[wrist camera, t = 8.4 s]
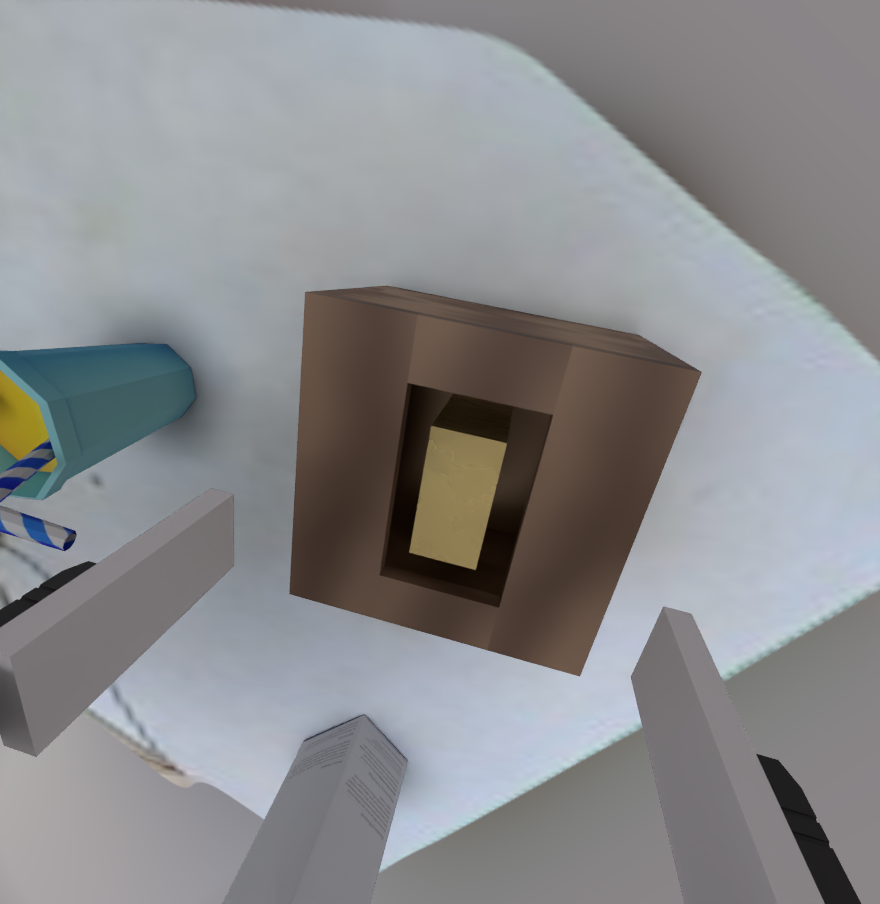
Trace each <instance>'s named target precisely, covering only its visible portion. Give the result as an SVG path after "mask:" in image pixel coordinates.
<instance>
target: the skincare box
mask: <svg viewBox="0 0 880 904" xmlns="http://www.w3.org/2000/svg"><path fill="white" fill-rule="evenodd" d="M406 767H407V760H406V759H405V758H404V757H403V756H402V755H401V754H400V753H399V751H398V750H397V749H396V748H395V747H394V746H393V745H392V744H391V743H390V742H389V741H388V740H387V738H386V737H385V736H384V735H383V734H382V733H381V732H380V731H379V730H378V729H377V727H376V726H375V725H374V724H373V723H372V722H371V721H370V720H369V719H368V718H367V716H366V715H362V716H360V717H358V718H356V719H354V720H351V721H349V722H347V723H345V724H342V725H340V726H338V727H336V728H333V729H331V730H329V731H327V732H324V733H322V734H320V735H318V736H315V737H313V738H311V739H309V740H307V741H304V742H303V743H302V745H301V747H300V749H299V751H298V754H297V756H296V758H295V760H294V762H293V764H292V766H291V768H290V770H289V772H288V774H287V776H286V778H285V780H284V782H283V784H282V786H281V788H280V790H279V792H278V794H277V796H276V798H275V800H274V802H273V804H272V806H271V808H270V810H269V812H268V814H267V816H266V818H265V820H264V822H263V824H262V826H261V828H260V830H259V831H258V833H257V836H256V837H255V840H254V842H253V844H252V845H251V848H250V849H249V851H248V853H247V855H246V857H245V859H244V861H243V863H242V865H241V867H240V869H239V871H238V873H237V875H236V877H235V879H234V881H233V883H232V885H231V887H230V889H229V891H228V893H227V895H226V897H225V899H224V901H223V903H222V904H370V902H371V899H372V895H373V891H374V887H375V884H376V880H377V876H378V872H379V869H380V865H381V861H382V857H383V853H384V850H385V846H386V842H387V838H388V835H389V831H390V827H391V823H392V820H393V816H394V812H395V808H396V804H397V801H398V797H399V793H400V789H401V786H402V782H403V778H404V774H405V771H406Z"/></svg>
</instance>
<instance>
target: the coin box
mask: <svg viewBox="0 0 880 904" xmlns="http://www.w3.org/2000/svg"><path fill="white" fill-rule="evenodd" d="M701 373H702V372H701V371H699V370H697V369H696V368H694V367H692V366H690V365H689V364H687V363H685V362H684V361H682V360H680V359H679V358H677V357H675V356H673V355H672V354H670V353H668V352H667V351H665V350H663V349H662V348H660V347H658V346H657V345H655V344H653V343H651V342H650V341H648V340H646V339H645V338H643V337H641V336H640V335H635V334H630V333H625V332H620V331H615V330H610V329H605V328H600V327H595V326H589V325H584V324H579V323H574V322H569V321H564V320H559V319H554V318H549V317H544V316H539V315H533V314H528V313H523V312H518V311H513V310H508V309H503V308H498V307H493V306H488V305H482V304H477V303H472V302H467V301H462V300H457V299H452V298H447V297H442V296H437V295H432V294H426V293H421V292H416V291H411V290H406V289H401V288H396V287H391V286H377V287H364V288H351V289H338V290H325V291H312V292H305V308H304V327H303V347H302V366H301V385H300V404H299V423H298V442H297V461H296V480H295V499H294V519H293V538H292V557H291V576H290V594H291V595H295V596H298V597H302V598H305V599H309V600H312V601H316V602H320V603H323V604H327V605H330V606H334V607H337V608H341V609H344V610H348V611H351V612H355V613H358V614H362V615H365V616H369V617H372V618H376V619H379V620H383V621H386V622H390V623H394V624H397V625H401V626H404V627H408V628H411V629H415V630H418V631H422V632H425V633H429V634H432V635H436V636H439V637H443V638H446V639H450V640H453V641H457V642H460V643H464V644H468V645H471V646H475V647H478V648H482V649H485V650H489V651H492V652H496V653H499V654H503V655H506V656H510V657H513V658H517V659H520V660H524V661H527V662H531V663H534V664H538V665H542V666H545V667H549V668H552V669H556V670H559V671H563V672H566V673H570V674H573V675H577V676H580V675H581V672H582V670H583V667H584V665H585V662H586V660H587V657H588V655H589V652H590V650H591V647H592V645H593V642H594V640H595V637H596V635H597V632H598V630H599V627H600V625H601V622H602V620H603V617H604V615H605V612H606V610H607V607H608V605H609V602H610V600H611V597H612V595H613V592H614V590H615V587H616V585H617V582H618V580H619V577H620V575H621V572H622V570H623V567H624V565H625V563H626V560H627V558H628V555H629V553H630V550H631V548H632V545H633V543H634V540H635V538H636V535H637V533H638V530H639V528H640V525H641V523H642V520H643V518H644V515H645V513H646V510H647V508H648V505H649V503H650V500H651V498H652V495H653V493H654V490H655V488H656V485H657V483H658V480H659V478H660V475H661V473H662V470H663V468H664V465H665V463H666V460H667V458H668V455H669V453H670V450H671V448H672V445H673V443H674V440H675V438H676V435H677V433H678V430H679V428H680V425H681V423H682V420H683V418H684V415H685V413H686V410H687V408H688V405H689V403H690V400H691V398H692V395H693V393H694V390H695V388H696V385H697V383H698V380H699V378H700V375H701ZM453 393H456V394H460V395H465V396H469V397H474V398H478V399H483V400H487V401H492V402H497V403H501V404H506V405H510V406H513V411H512V417H511V423H510V429H509V435H508V441H507V446H506V450H505V454H504V458H503V462H502V466H501V470H500V474H499V478H498V482H497V486H496V490H495V494H494V498H493V502H492V506H491V510H490V514H489V518H488V522H487V527H486V531H485V535H484V539H483V543H482V547H481V551H480V555H479V559H478V563H477V567H476V570H474V569H470V568H466V567H462V566H459V565H455V564H451V563H447V562H443V561H440V560H436V559H432V558H428V557H424V556H421V555H417V554H413V553H409V551H410V545H411V539H412V534H413V528H414V522H415V516H416V511H417V505H418V499H419V493H420V488H421V482H422V476H423V470H424V465H425V459H426V453H427V447H428V442H429V436H430V430H431V425H432V424H433V423H434V421H435V420H436V418H437V417H438V415H439V414H440V412H441V411H442V409H443V408H444V407H445V405H446V404H447V402H448V401H449V399H450V398H451V396H452V395H453Z"/></svg>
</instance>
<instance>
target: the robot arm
mask: <svg viewBox="0 0 880 904" xmlns="http://www.w3.org/2000/svg"><path fill="white" fill-rule="evenodd" d="M233 566H234V499H233V494H231V493H227V492H223V491H219V490H215V489H210V490H208V491H206V492H205V493H203V494H202V495H200V496H199V497H197V498H196V499H194V500H193V501H191V502H190V503H188V504H187V505H185V506H184V507H182V508H181V509H179V510H178V511H176V512H175V513H173V514H172V515H170V516H169V517H167V518H166V519H164V520H163V521H161V522H159V523H158V524H156V525H155V526H153V527H152V528H150V529H149V530H147V531H146V532H144V533H143V534H141V535H140V536H138V537H137V538H135V539H134V540H132V541H131V542H129V543H128V544H126V545H125V546H123V547H122V548H120V549H119V550H117V551H116V552H114V553H112V554H111V555H109V556H108V557H106V558H105V559H103V560H102V561H100V562H99V563H97V564H96V563H93V562H89V561H88V562H85V563H82V564H80V565H77V566H74V567H72V568H69V569H66V570H64V571H62V572H60V573H58V574H57V575H55V576H54V577H52V578H50V579H49V580H47V581H46V582H44V583H42V584H41V585H40V587H39V588H34V589H33V590H31V591H30V592H28V593H26V594H25V595H23V596H22V598H21V599H20V600H15V601H14V602H12V603H10V604H9V605H7V606H6V607H4V608H3V609H1V610H0V735H1V738H2V741H3V744H4V746H7V747H10V748H13V749H15V750H18V751H21V752H24V753H27V754H30V755H33V756H35V757H37V756H38V755H39V754H40V753H41V752H42V751H43V750H44V749H45V748H46V747H47V746H48V745H49V744H50V743H51V742H52V741H53V740H54V739H55V738H56V737H57V736H58V735H59V734H60V733H61V732H62V731H63V730H64V729H66V728H67V726H69V725H70V724H71V723H72V722H73V721H74V720H75V719H76V718H77V717H78V716H79V715H80V714H81V713H82V712H83V711H84V710H85V709H86V708H87V707H88V706H89V705H90V704H91V703H92V702H94V701H95V700H96V699H97V698H98V697H99V696H100V695H101V694H102V693H103V692H104V691H105V690H106V689H107V688H108V687H109V686H110V685H111V684H112V683H113V682H114V681H115V680H116V679H117V678H118V677H119V676H120V675H121V674H123V673H124V672H125V671H126V670H127V669H128V668H129V667H130V666H131V665H132V664H133V663H134V662H135V661H136V660H137V659H138V658H139V657H140V656H141V655H142V654H143V653H144V652H145V651H146V650H147V649H148V648H149V647H150V646H151V645H153V644H154V643H155V642H156V641H157V640H158V639H159V638H160V637H161V636H162V635H163V634H164V633H165V632H166V631H167V630H168V629H169V628H170V627H171V626H172V625H173V624H174V623H175V622H176V621H177V620H178V619H179V618H180V617H182V616H183V615H184V614H185V613H186V612H187V611H188V610H189V609H190V608H191V607H192V606H193V605H194V604H195V603H196V602H197V601H198V600H199V599H200V598H201V597H202V596H203V595H204V594H205V593H206V592H207V591H208V590H209V589H211V588H212V587H213V586H214V585H215V584H216V583H217V582H218V581H219V580H220V579H221V578H222V577H223V576H224V575H225V574H226V573H227V572H228V571H229V570H230V569H231V568H232V567H233ZM631 680H632V684H633V688H634V693H635V697H636V701H637V705H638V710H639V714H640V718H641V722H642V726H643V731H644V735H645V739H646V743H647V748H648V752H649V756H650V760H651V765H652V769H653V773H654V777H655V782H656V786H657V790H658V794H659V798H660V803H661V807H662V811H663V815H664V820H665V824H666V828H667V832H668V837H669V841H670V845H671V849H672V853H673V858H674V862H675V866H676V870H677V874H678V879H679V883H680V887H681V892H682V896H683V900H684V904H861V902H860V900H859V899H858V897H857V895H856V893H855V891H854V889H853V887H852V885H851V883H850V881H849V879H848V878H847V875H846V874H845V872H844V870H843V868H842V866H841V864H840V862H839V860H838V858H837V856H836V854H835V852H834V850H833V849H832V848H830V847H829V841H828V839H827V837H826V835H825V833H824V831H823V829H822V827H821V825H820V823H817V821H816V818H817V817H816V815H815V813H814V812H813V810H812V808H811V806H810V804H809V802H808V800H807V798H806V796H805V794H804V792H803V790H802V788H801V787H800V786H799V785H798V783H797V782H796V781H795V780H794V779H793V778H792V776H791V775H790V774H789V773H788V771H787V770H786V769H785V768H784V766H782V764H781V763H780V762H779V760H776V759H772V758H769V757H765V756H762V755H758V754H756V753H755V751H754V749H753V746H752V744H751V742H750V740H749V738H748V736H747V733H746V731H745V729H744V727H743V725H742V722H741V720H740V718H739V716H738V714H737V712H736V709H735V707H734V705H733V703H732V701H731V698H730V696H729V694H728V692H727V690H726V688H725V686H724V683H723V681H722V679H721V677H720V675H719V672H718V670H717V668H716V666H715V664H714V661H713V659H712V657H711V655H710V653H709V651H708V648H707V646H706V644H705V642H704V640H703V638H702V635H701V633H700V631H699V629H698V627H697V624H696V622H695V620H694V618H693V616H692V614H690V613H686V612H683V611H679V610H675V609H671V608H667V607H663V609H662V611H661V613H660V615H659V617H658V619H657V622H656V624H655V626H654V628H653V630H652V632H651V635H650V637H649V639H648V641H647V643H646V645H645V648H644V650H643V652H642V654H641V656H640V658H639V661H638V663H637V665H636V667H635V669H634V671H633V674H632V676H631Z"/></svg>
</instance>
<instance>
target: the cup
mask: <svg viewBox="0 0 880 904" xmlns="http://www.w3.org/2000/svg"><path fill="white" fill-rule="evenodd" d="M195 399H196V393H195V388H194V382H193V377H192V372H191V367H190V366H189V365H188V364H187V363H186V362H185V361H184V360H183V359H182V358H180V357H179V356H178V355H177V354H176V353H175V352H174V351H173V350H172V349H171V348H170V347H169V346H168V345H167V344H147V343H135V344H119V345H103V346H87V347H72V348H56V349H40V350H24V351H0V502H1V501H3V500H4V499H5V498H6V497H8V496H11V497H19V498H28V499H37V500H44V499H45V498H47V497H49V496H50V495H52V494H53V493H55V492H57V491H58V490H60V489H61V487H62V486H63V484H64V483H65V481H66V480H67V479H69V478H71V477H73V476H75V475H76V474H78V473H80V472H82V471H84V470H86V469H87V468H89V467H91V466H93V465H95V464H96V463H98V462H100V461H102V460H104V459H106V458H107V457H109V456H111V455H113V454H115V453H116V452H118V451H120V450H122V449H124V448H126V447H127V446H129V445H131V444H133V443H135V442H137V441H138V440H140V439H142V438H144V437H146V436H147V435H149V434H151V433H153V432H155V431H157V430H158V429H160V428H162V427H164V426H166V425H167V424H169V423H171V422H173V421H175V420H177V419H178V418H180V417H182V416H183V414H184V413H185V412H186V410H187V409H188V408H189V407H190V405H191V404H192V403H193V401H194V400H195ZM0 532H3V533H6V534H9V535H13V536H16V537H19V538H23V539H26V540H29V541H32V542H36V543H39V544H42V545H46V546H49V547H52V548H56V549H59V550H62V551H66V550H68V549H69V548H70V547H71V546H72V544H73V543H74V541H75V538H76V535H77V534H76V532H75V531H74V530H71V529H68V528H65V527H62V526H59V525H56V524H53V523H50V522H47V521H44V520H41V519H38V518H35V517H32V516H29V515H26V514H23V513H20V512H17V511H14V510H11V509H8V508H5V507H2V506H0Z"/></svg>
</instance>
